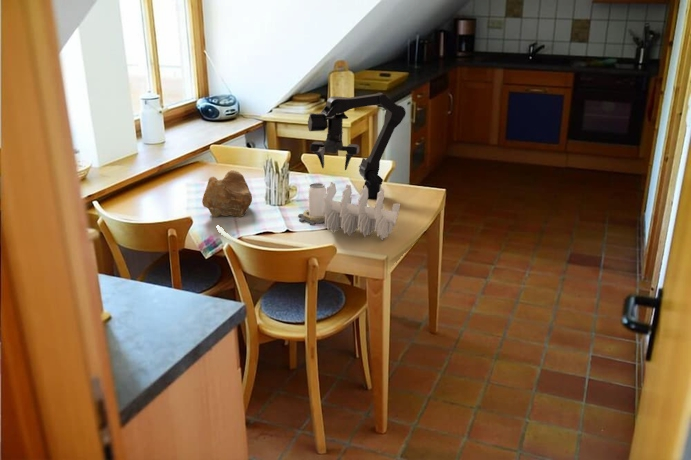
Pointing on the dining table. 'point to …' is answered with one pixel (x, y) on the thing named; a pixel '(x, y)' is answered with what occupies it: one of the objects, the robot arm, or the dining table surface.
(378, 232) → the white pleated crown
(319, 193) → the can
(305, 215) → the gear plate
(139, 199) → the dining table surface
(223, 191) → the rough brown rock
